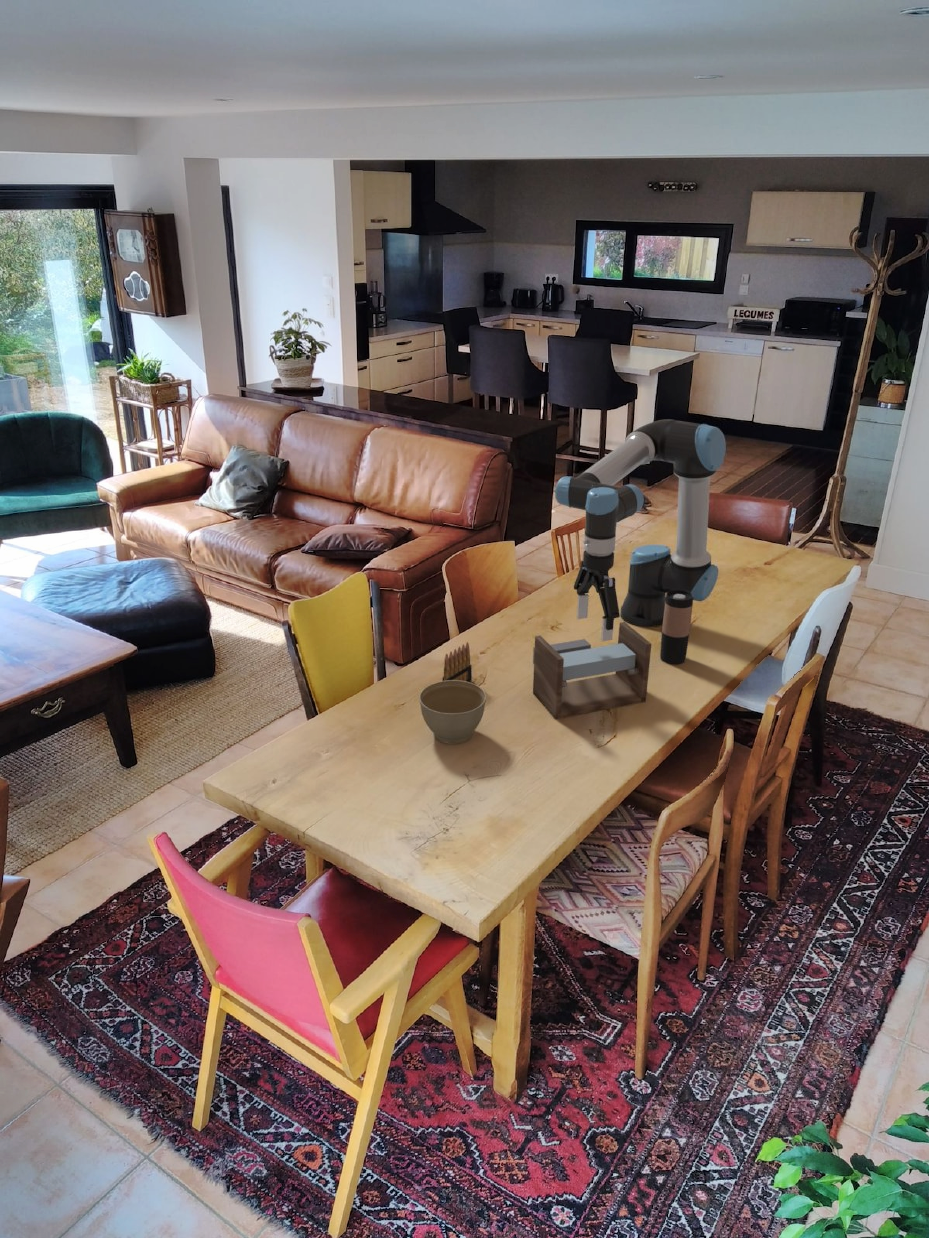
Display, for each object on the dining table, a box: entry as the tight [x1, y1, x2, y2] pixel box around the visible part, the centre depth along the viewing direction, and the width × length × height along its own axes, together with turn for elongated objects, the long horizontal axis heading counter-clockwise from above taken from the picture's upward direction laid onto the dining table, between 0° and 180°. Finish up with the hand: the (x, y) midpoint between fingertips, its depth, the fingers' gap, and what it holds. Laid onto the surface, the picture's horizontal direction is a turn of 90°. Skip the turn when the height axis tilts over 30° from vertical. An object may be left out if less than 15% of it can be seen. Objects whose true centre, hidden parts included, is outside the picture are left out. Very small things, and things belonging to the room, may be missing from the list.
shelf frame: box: [532, 621, 652, 720], centre depth 238 cm, size 26×14×17 cm, turn 110°
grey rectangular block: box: [532, 638, 592, 665], centre depth 259 cm, size 16×4×5 cm, turn 110°
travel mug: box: [659, 590, 694, 665], centre depth 258 cm, size 8×8×20 cm
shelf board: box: [560, 643, 636, 681], centre depth 237 cm, size 22×7×4 cm, turn 110°
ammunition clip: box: [441, 641, 473, 683], centre depth 244 cm, size 11×2×12 cm, turn 142°
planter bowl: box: [418, 680, 487, 745], centre depth 223 cm, size 16×16×11 cm
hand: (594, 628), depth 233 cm, fingers open, 13 cm apart
